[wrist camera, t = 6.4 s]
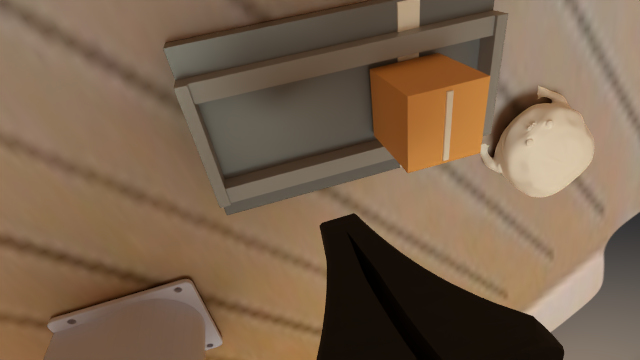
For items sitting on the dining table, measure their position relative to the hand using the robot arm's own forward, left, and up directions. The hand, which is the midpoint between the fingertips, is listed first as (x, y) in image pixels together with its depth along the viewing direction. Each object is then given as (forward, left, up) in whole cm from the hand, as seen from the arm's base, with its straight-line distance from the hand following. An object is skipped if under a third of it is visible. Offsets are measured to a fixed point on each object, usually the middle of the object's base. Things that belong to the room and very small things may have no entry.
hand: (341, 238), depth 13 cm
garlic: (+17, -5, -10) cm, 21 cm away
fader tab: (+7, +1, -8) cm, 11 cm away
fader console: (+3, +1, -10) cm, 10 cm away
